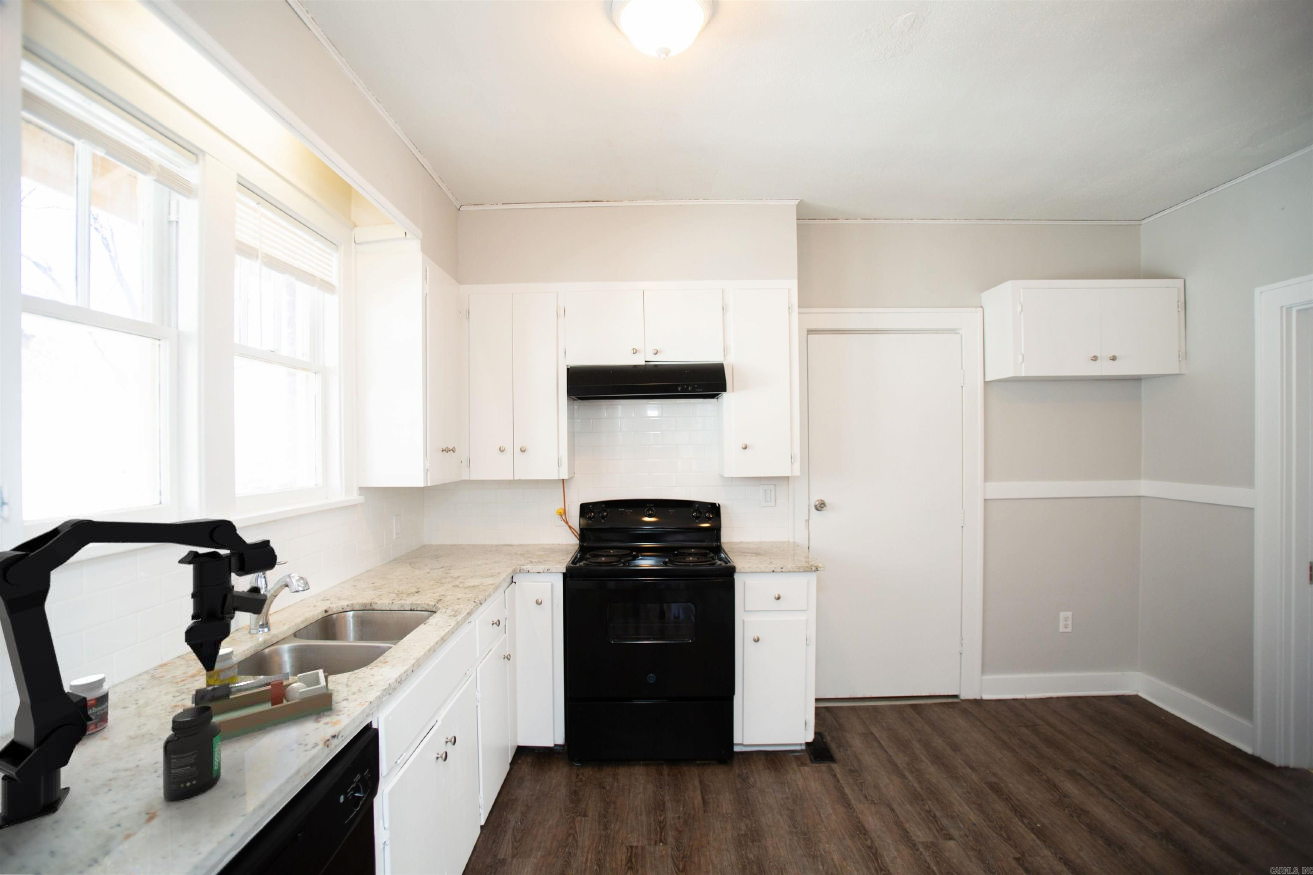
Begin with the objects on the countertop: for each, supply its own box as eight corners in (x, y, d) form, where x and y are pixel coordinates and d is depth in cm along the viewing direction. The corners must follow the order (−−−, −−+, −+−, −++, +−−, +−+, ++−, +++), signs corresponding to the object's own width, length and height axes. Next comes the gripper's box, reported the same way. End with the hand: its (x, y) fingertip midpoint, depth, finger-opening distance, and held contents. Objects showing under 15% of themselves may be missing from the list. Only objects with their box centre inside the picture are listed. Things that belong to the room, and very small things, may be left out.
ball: (279, 700, 103) (295, 710, 104) (296, 682, 105) (312, 692, 106) (279, 692, 106) (294, 703, 108) (296, 675, 108) (311, 686, 109)
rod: (289, 705, 104) (289, 671, 104) (190, 731, 95) (190, 694, 95) (289, 697, 107) (288, 665, 107) (193, 722, 98) (193, 686, 98)
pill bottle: (78, 739, 95) (78, 687, 96) (56, 737, 97) (56, 685, 97) (116, 723, 101) (116, 673, 101) (94, 721, 102) (95, 671, 102)
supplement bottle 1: (231, 777, 83) (231, 704, 83) (182, 806, 77) (182, 726, 77) (201, 771, 85) (201, 699, 85) (151, 798, 78) (151, 721, 79)
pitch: (332, 709, 105) (332, 692, 105) (173, 753, 90) (173, 733, 90) (327, 688, 114) (327, 672, 114) (183, 725, 100) (183, 707, 100)
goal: (326, 704, 105) (326, 684, 105) (299, 711, 102) (299, 691, 102) (322, 686, 113) (322, 668, 113) (297, 693, 110) (297, 674, 110)
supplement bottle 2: (241, 692, 113) (241, 649, 114) (212, 702, 109) (211, 658, 109) (231, 686, 116) (231, 645, 116) (201, 697, 111) (201, 653, 112)
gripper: (263, 585, 96) (264, 667, 96) (265, 567, 111) (265, 638, 111) (184, 596, 89) (184, 685, 89) (197, 576, 104) (197, 652, 104)
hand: (212, 662), depth 98 cm, fingers open, 9 cm apart
